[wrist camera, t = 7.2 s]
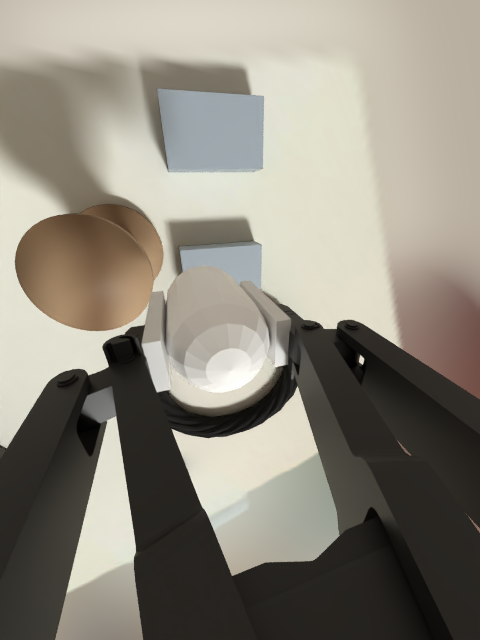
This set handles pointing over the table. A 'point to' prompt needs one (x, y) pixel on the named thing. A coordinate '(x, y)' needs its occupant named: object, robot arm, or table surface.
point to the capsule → (214, 330)
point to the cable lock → (233, 422)
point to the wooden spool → (90, 266)
